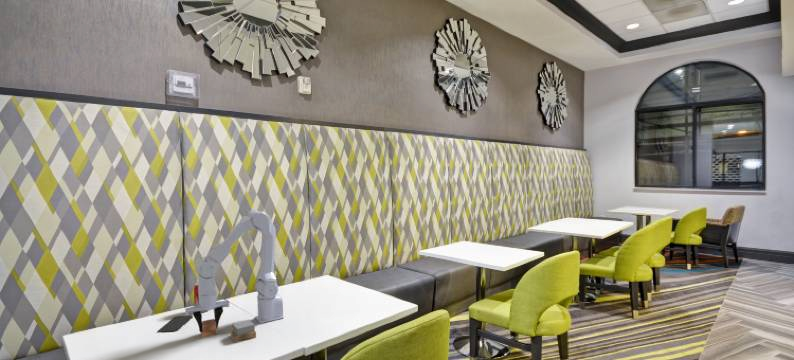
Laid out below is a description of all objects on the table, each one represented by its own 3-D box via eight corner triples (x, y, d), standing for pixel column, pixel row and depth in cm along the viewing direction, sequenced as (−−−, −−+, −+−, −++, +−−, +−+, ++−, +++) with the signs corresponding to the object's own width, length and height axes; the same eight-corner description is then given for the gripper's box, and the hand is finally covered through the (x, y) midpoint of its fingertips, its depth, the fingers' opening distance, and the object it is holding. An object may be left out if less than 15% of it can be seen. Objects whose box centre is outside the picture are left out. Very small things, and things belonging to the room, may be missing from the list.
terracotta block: (214, 330, 149) (213, 318, 149) (216, 334, 145) (216, 322, 145) (201, 333, 146) (200, 321, 146) (203, 337, 143) (202, 325, 142)
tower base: (251, 332, 148) (250, 325, 148) (256, 338, 142) (255, 331, 142) (231, 337, 144) (230, 330, 144) (235, 344, 138) (235, 337, 138)
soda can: (200, 314, 166) (199, 285, 165) (191, 311, 169) (190, 283, 169) (214, 309, 171) (213, 282, 171) (205, 306, 174) (204, 280, 174)
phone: (156, 331, 148) (175, 316, 163) (156, 333, 148) (175, 318, 163) (176, 330, 148) (193, 315, 163) (176, 332, 148) (194, 317, 163)
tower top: (249, 326, 147) (249, 319, 147) (254, 331, 143) (254, 324, 143) (232, 330, 144) (232, 323, 144) (237, 336, 139) (237, 329, 139)
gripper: (186, 300, 138) (187, 338, 138) (230, 292, 146) (231, 328, 146) (184, 294, 144) (185, 331, 144) (226, 287, 152) (227, 322, 152)
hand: (208, 329), depth 146 cm, fingers closed on terracotta block, 4 cm apart
